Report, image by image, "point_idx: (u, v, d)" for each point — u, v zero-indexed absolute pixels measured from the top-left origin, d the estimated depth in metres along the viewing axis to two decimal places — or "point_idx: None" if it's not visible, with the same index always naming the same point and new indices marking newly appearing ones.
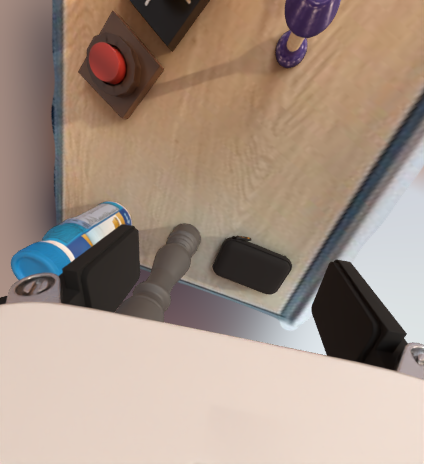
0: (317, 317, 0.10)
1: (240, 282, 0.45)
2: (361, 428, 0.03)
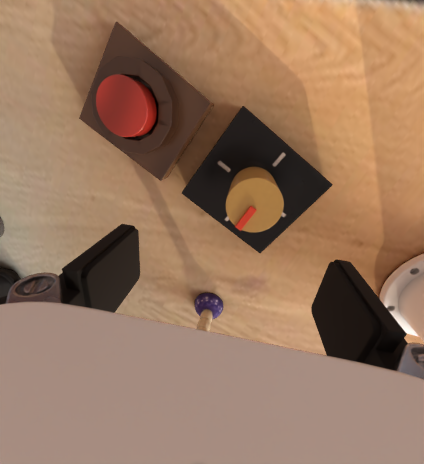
0: (317, 317, 0.10)
1: None
2: (361, 428, 0.03)
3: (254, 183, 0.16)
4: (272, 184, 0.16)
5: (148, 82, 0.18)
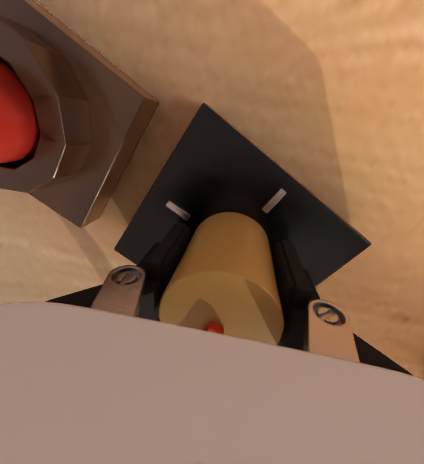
0: None
1: None
2: (361, 428, 0.03)
3: (215, 281, 0.07)
4: (256, 286, 0.07)
5: (4, 56, 0.09)
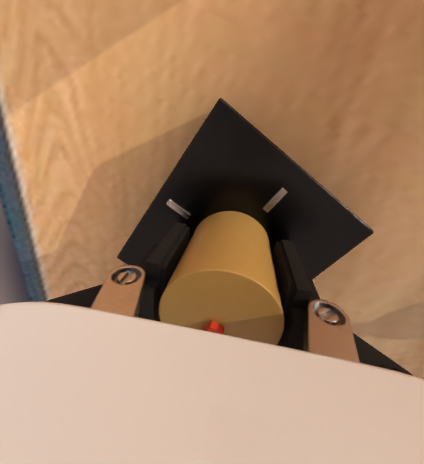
0: None
1: None
2: (361, 428, 0.03)
3: (216, 280, 0.07)
4: (258, 285, 0.07)
5: None
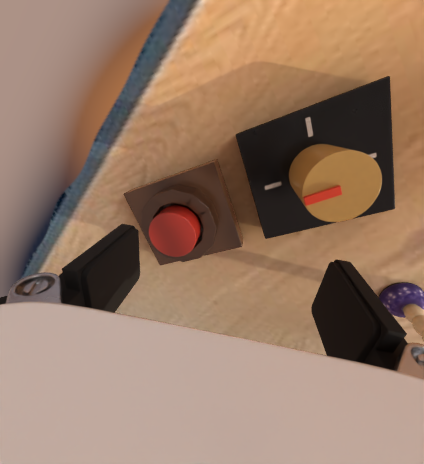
0: (317, 317, 0.10)
1: None
2: (361, 428, 0.03)
3: (364, 163, 0.12)
4: (380, 177, 0.13)
5: (169, 202, 0.20)
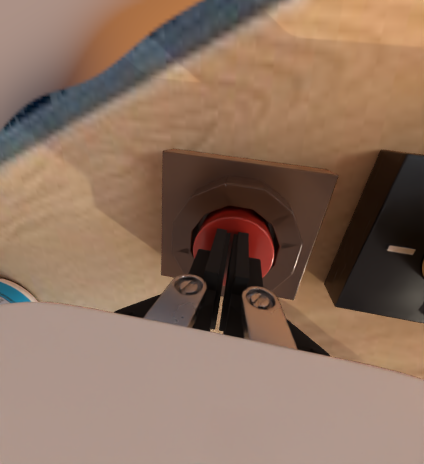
0: None
1: None
2: (361, 428, 0.03)
3: None
4: None
5: (247, 206, 0.11)
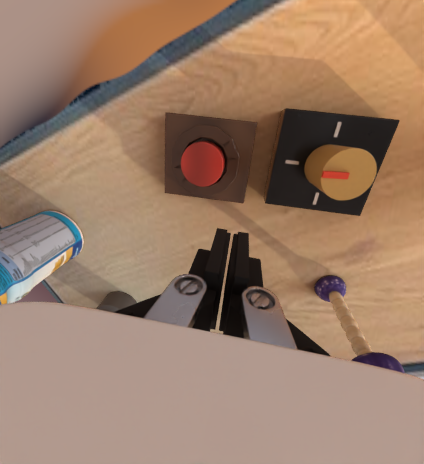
0: (225, 283, 0.11)
1: None
2: (361, 428, 0.03)
3: (370, 164, 0.18)
4: (373, 178, 0.19)
5: (209, 137, 0.23)
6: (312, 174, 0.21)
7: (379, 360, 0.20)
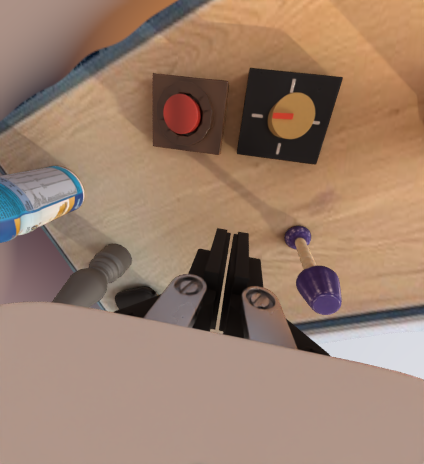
0: (225, 283, 0.11)
1: None
2: (361, 428, 0.03)
3: (309, 106, 0.23)
4: (313, 118, 0.23)
5: (187, 91, 0.27)
6: (269, 121, 0.26)
7: (318, 269, 0.24)
